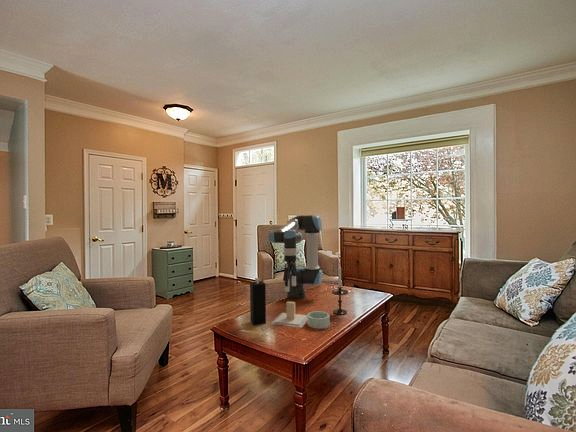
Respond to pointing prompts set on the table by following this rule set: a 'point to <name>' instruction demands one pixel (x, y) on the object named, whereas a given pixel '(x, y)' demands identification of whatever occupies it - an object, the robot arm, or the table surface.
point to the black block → (257, 302)
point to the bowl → (318, 319)
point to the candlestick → (339, 292)
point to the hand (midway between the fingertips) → (290, 288)
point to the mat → (288, 324)
